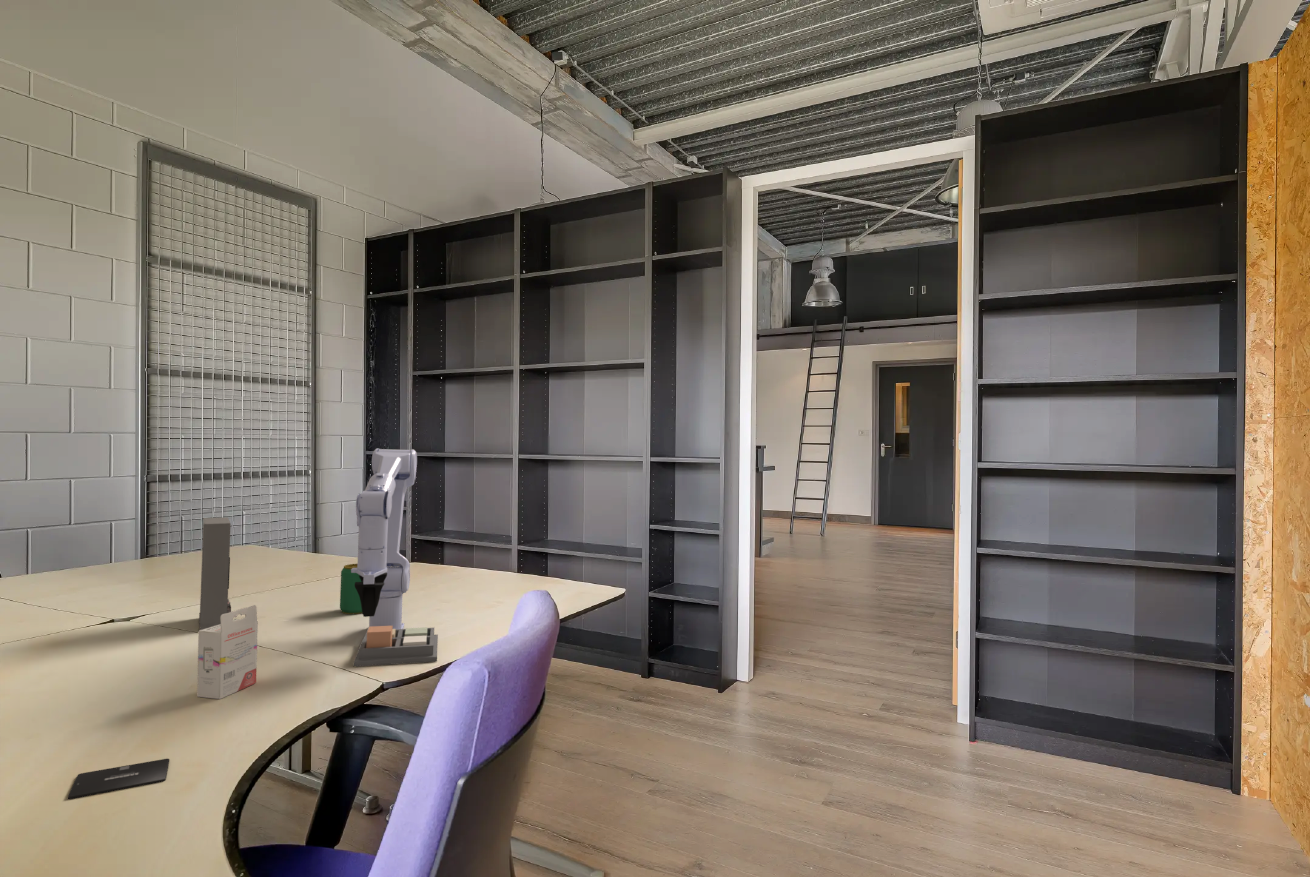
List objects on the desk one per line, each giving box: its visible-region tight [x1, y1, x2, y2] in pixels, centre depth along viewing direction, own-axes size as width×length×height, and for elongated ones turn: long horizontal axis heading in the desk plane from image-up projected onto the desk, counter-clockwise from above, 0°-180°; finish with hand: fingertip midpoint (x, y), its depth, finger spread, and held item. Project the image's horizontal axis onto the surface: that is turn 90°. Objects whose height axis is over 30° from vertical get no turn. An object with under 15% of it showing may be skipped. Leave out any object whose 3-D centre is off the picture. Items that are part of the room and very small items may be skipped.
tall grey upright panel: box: [198, 517, 232, 630], centre depth 166 cm, size 14×6×25 cm, turn 34°
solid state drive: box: [67, 758, 170, 800], centre depth 91 cm, size 7×10×1 cm
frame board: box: [353, 627, 439, 667], centre depth 148 cm, size 17×16×4 cm
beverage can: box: [339, 563, 363, 615], centre depth 182 cm, size 8×8×12 cm
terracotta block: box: [366, 626, 393, 648], centre depth 144 cm, size 5×5×5 cm
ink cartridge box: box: [196, 604, 259, 700], centre depth 123 cm, size 9×5×15 cm, turn 168°
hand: (370, 611), depth 145 cm, fingers open, 7 cm apart
